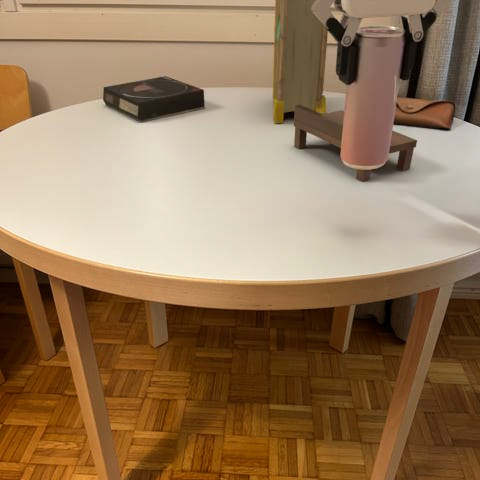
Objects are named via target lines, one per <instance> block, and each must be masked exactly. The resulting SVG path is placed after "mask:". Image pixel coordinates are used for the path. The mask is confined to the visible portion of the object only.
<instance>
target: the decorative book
mask: <svg viewBox="0 0 480 480" xmlns="http://www.w3.org/2000/svg"><path fill="white" fill-rule="evenodd" d="M274 1H275V3H274V28H273V70H272V71H273V72H272V101H273V113H272V115H273V116H272V117H273V123H274V124H283V123H284V116H285V115H284V114H285V113H289V112H295V106H297V105H302V106H304V107H306V108H309V109H311V110H314V111H316V112H318V113H321V114H325V113H327V101H326V96H325V95H324V86H325V85H324V84H325V72H326V71H325V70H326V59H327V49H328V35H329V31H328V30H327V29H326V28H325V27H324V25H323V24H322V23H321V22H320V20H319V19H318V18H317V17H316V16H315V15H314V13H313V12H312V10H311V7H312V5H313V3H314V2H315V1H316V0H274Z"/></svg>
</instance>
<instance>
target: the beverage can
mask: <svg viewBox="0 0 480 480" xmlns="http://www.w3.org/2000/svg"><path fill="white" fill-rule="evenodd" d="M404 33H405V30H404V29H402V27H398V26H392V25H367V26H366V25H365V26H359V27H358V30H357V32H356V34H355V36H354V39H353V45H354V46H355V47H356V59H355V69H354V79H353V83H352V84H351V85H346V87H345V100H344V110H343V111H344V121H343V132H342V143H341V148H340V155H339V156H340V159H341V161H342V163H343V164H344V165H345V166H347V167H348V168H352V169H355V170H357V169H362V170H369V169H371V170H376V169H379V168H381V167H383V166H384V165H385V164H386V162H388V160H389V156H390V154H389V149H390V143H391V136H392V131H393V129H394V124H393V122H394V115H395V108H396V102H397V97H398V95H399V87H400V80H401V79H400V74H401V67H402V61H403V54H404V47H405V38H404Z"/></svg>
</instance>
